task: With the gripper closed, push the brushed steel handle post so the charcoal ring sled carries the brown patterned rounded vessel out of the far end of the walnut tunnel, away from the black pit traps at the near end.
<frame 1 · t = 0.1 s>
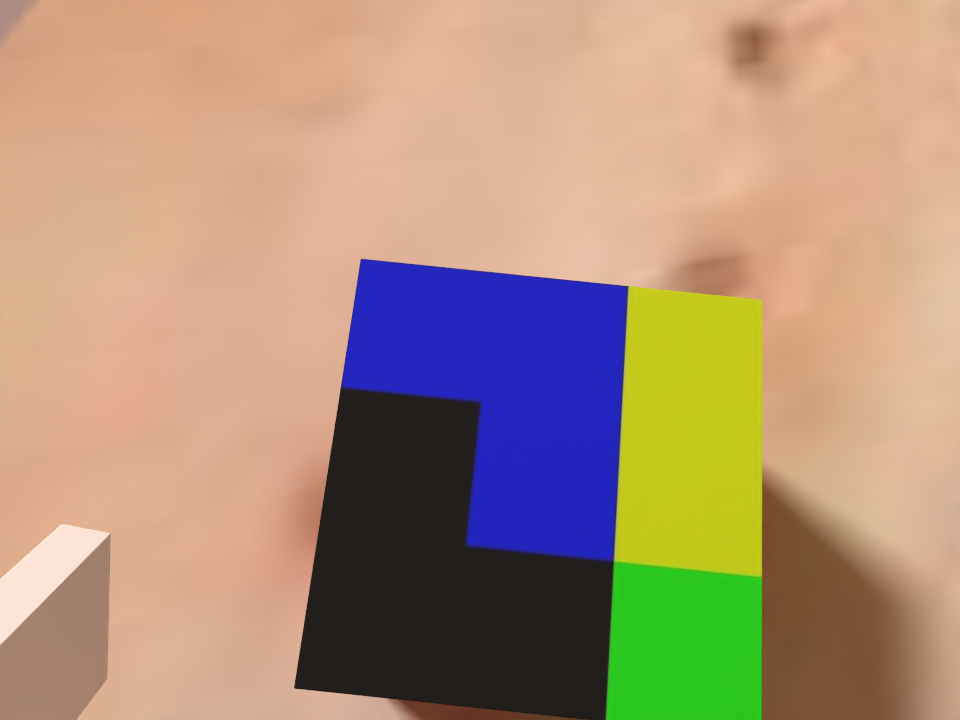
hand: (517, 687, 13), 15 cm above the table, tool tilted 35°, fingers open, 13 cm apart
puzzle toy: (516, 523, 29), on the table
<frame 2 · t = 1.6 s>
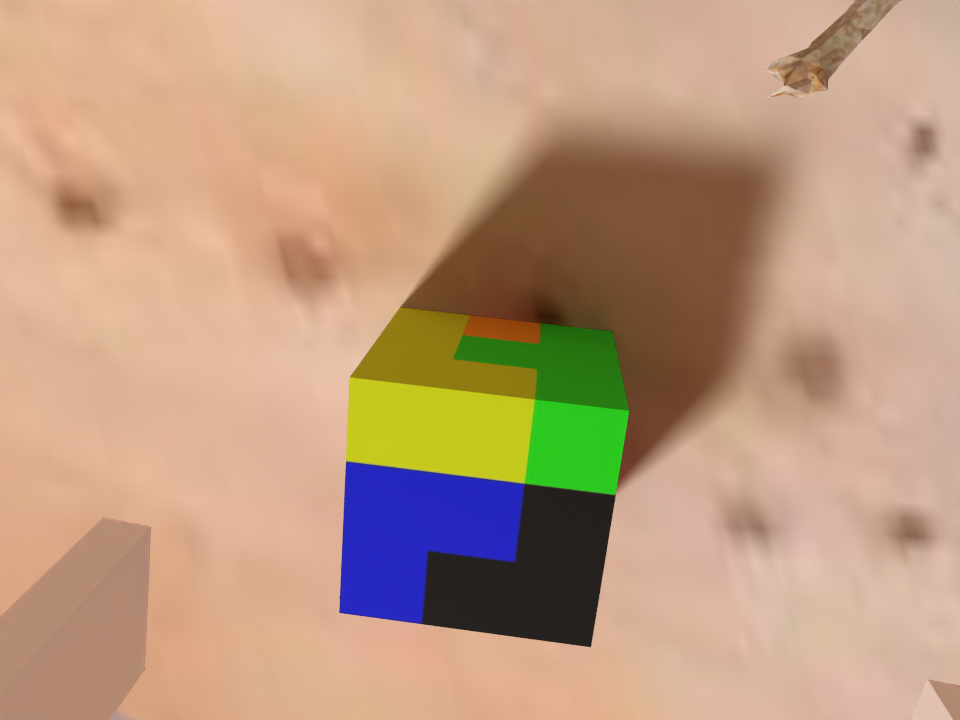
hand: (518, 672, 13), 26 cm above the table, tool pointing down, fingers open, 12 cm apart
puzzle toy: (495, 415, 41), on the table
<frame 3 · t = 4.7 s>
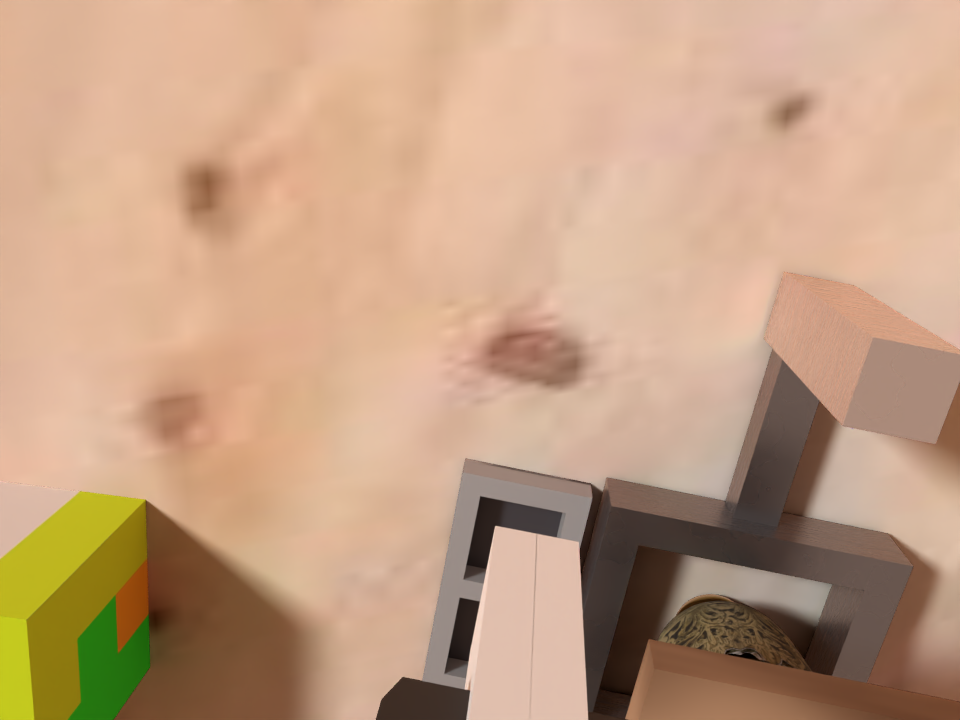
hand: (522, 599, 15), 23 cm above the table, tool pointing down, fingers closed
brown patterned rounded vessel: (707, 617, 41), on the table
sled: (767, 587, 34), point 5 cm above the table, slide at 0.0 cm
pit traps: (504, 579, 41), on the table
puzzle toy: (56, 570, 43), on the table
tunnel: (707, 620, 41), on the table
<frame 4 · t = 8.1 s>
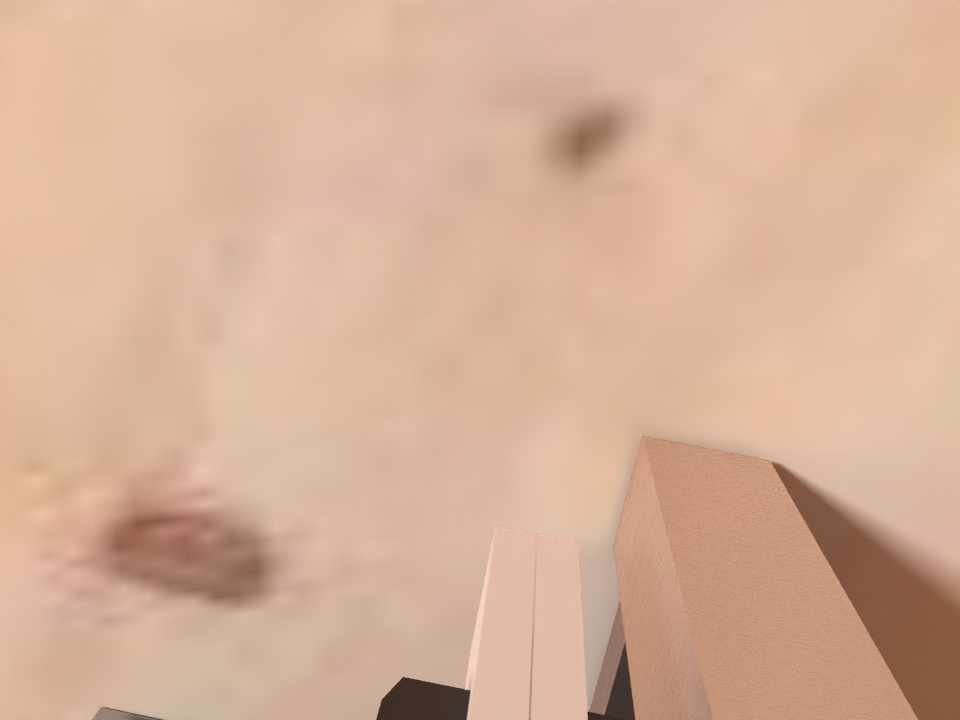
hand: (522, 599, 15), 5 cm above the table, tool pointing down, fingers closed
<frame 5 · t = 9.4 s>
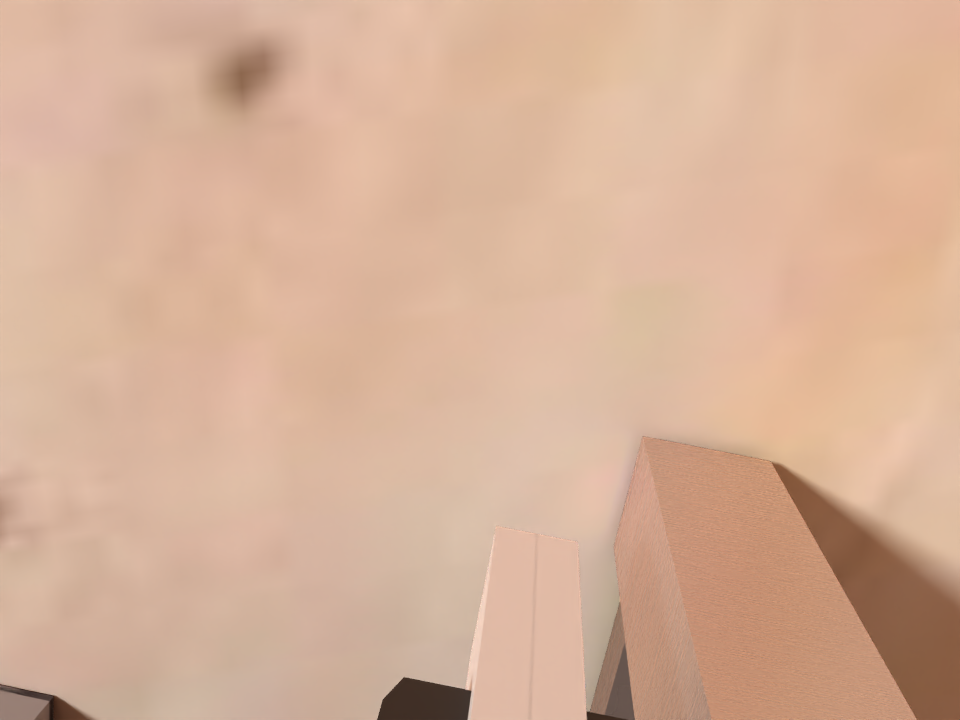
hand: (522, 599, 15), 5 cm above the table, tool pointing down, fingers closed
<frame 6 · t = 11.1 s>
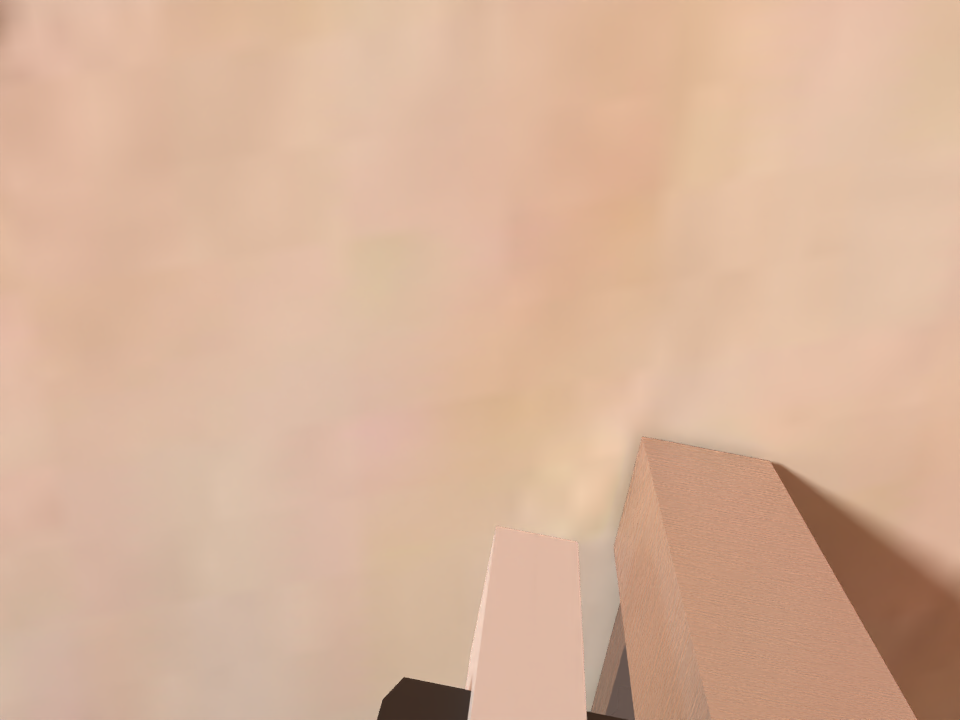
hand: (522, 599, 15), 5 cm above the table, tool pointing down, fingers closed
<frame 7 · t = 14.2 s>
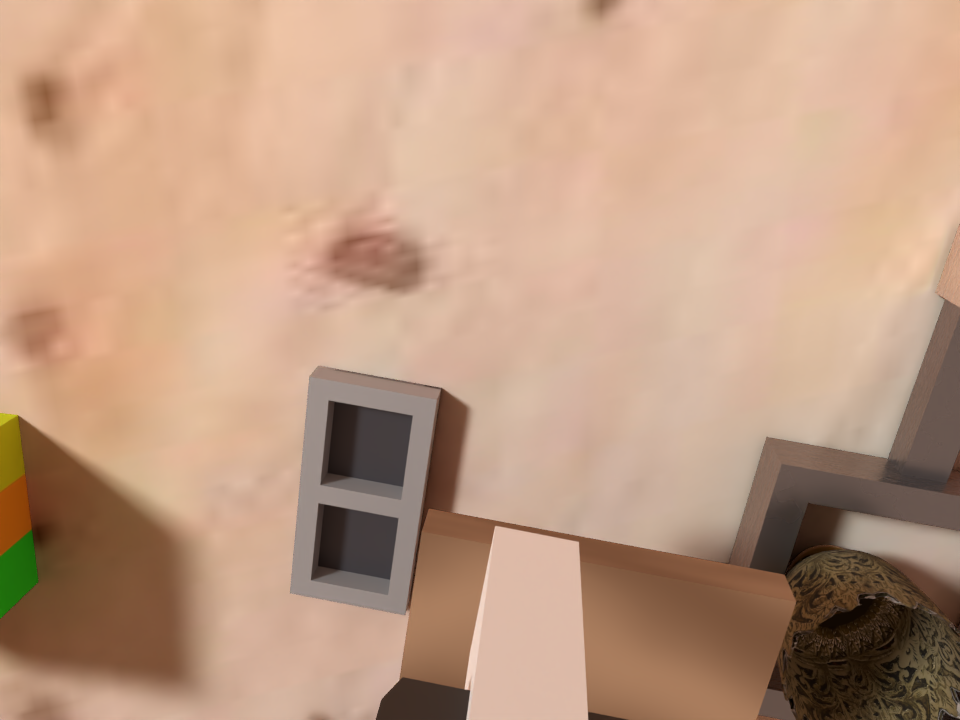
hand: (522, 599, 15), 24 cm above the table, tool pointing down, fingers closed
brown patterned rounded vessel: (819, 568, 41), on the table, touching sled
sled: (948, 542, 34), point 5 cm above the table, slide at 14.7 cm, touching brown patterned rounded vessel
pit traps: (366, 487, 41), on the table
tunnel: (567, 524, 41), on the table
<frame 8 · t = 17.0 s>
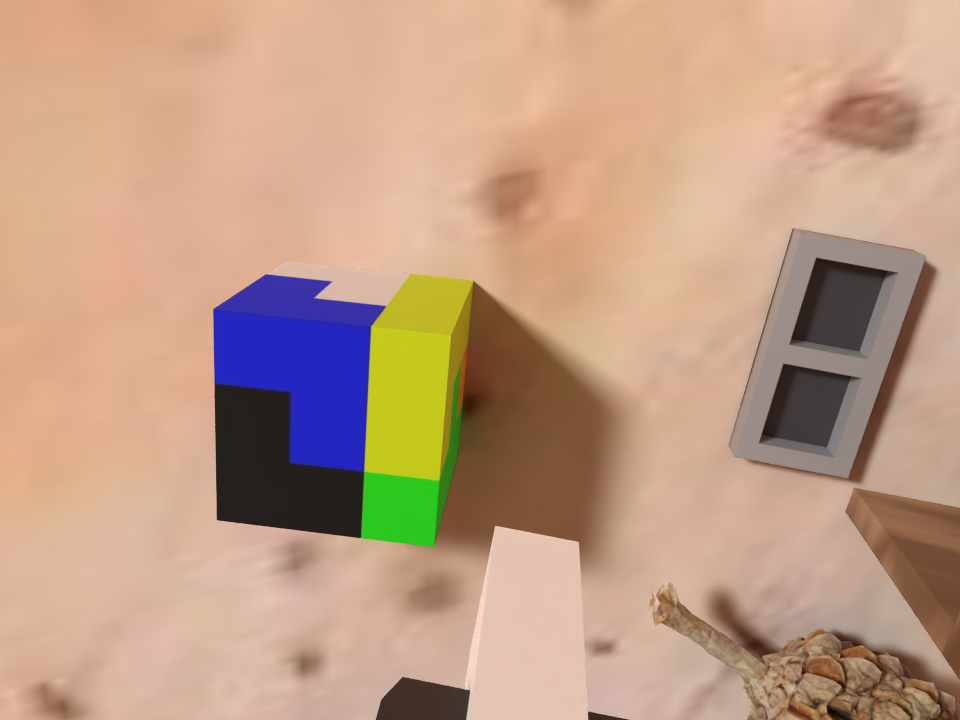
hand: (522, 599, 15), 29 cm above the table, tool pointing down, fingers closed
pit traps: (816, 352, 43), on the table
puzzle toy: (376, 358, 45), on the table
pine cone: (777, 644, 49), on the table
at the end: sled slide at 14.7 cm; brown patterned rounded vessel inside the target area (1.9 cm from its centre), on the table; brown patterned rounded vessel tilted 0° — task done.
